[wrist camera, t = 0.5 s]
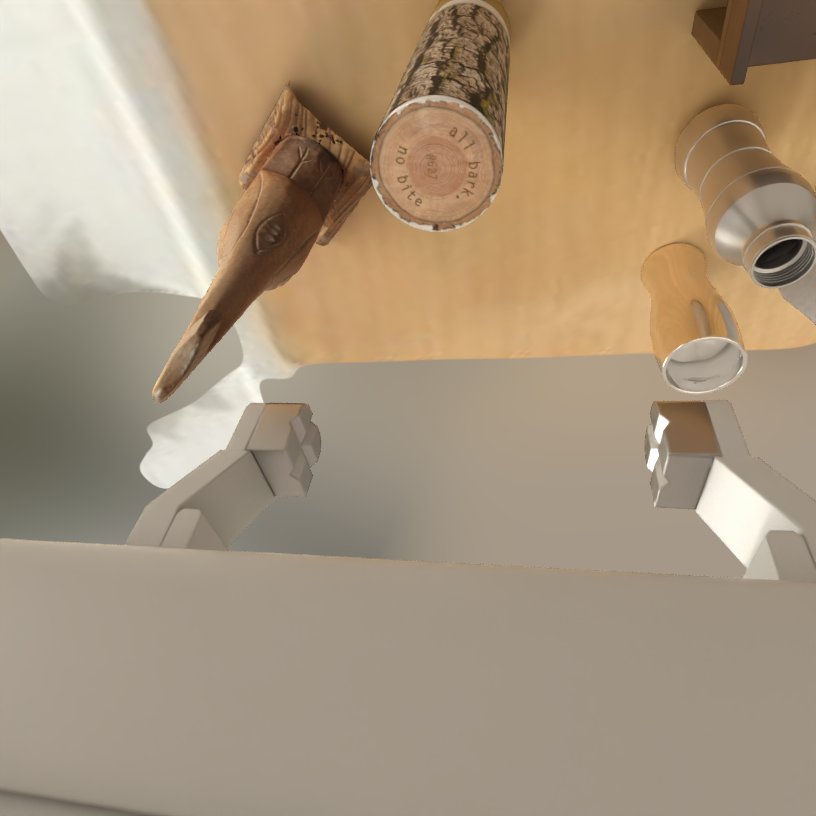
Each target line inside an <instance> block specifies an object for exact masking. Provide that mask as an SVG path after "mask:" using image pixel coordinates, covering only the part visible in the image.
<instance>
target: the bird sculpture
mask: <svg viewBox="0 0 816 816" xmlns="http://www.w3.org/2000/svg"><path fill="white" fill-rule="evenodd" d="M299 110H300V111H299ZM295 113H297V115H296V114H295ZM317 119H318V118H316V117H315V116H313V114H312V113H311V112H310V111H309V110H308V109H307V108H306V107H303V106H302V105H301V104H300V102H299V101H298V99H297V98H296V96H295V95H294V94H293V92H292V91H291V89H290V84H289V81H288V83H287V84H286V86H285V88H284V90H283V92H282V94H281V96H280V97H279V99H278V101H277V103H276V105H275V107H274V109H273V111H272V113H271V115H270V116H269V118H268V120H267V122H266V124H265V126H264V127H263V129H262V131H261V133H260V135H259V137H258V139H257V141H256V143H255V145H254V147H253V149H252V151H251V153H250V154H249V156H248V158H247V160H246V163H245V165H244V167H243V169H242V171H241V173H240V175H239V177H238V179H239V183H240V185H241V187H243V188H244V189H245V190H246V192H245V193H244V195H243V196H242V198H241V199H240V200H239V202H238V203H237V205H236V206H235V208H234V209H233V211H232V212H231V214H230V216H229V217H228V219H227V221H226V223H225V224H224V226H223V228H222V230H221V232H220V237H219V240H218V244H217V259H218V265H219V269H218V271H217V274H216V275H215V277H214V279H213V281H212V283H211V285H210V287H209V289H208V290H207V293H206V295H205V296H204V297H203V299H202V301H201V303H200V305H199V308H198V309H197V312H196V314H195V316H194V318H193V319H192V321H191V323H190V325H189V327H188V329H187V331H186V332H185V334H184V336H183V337H182V338H181V341H180V342H179V344H178V346H177V347H176V348H175V350H174V351H173V353H172V355H171V356H170V359H169V361H168V362H167V364H166V366H165V368H164V370H163V372H162V374H161V375H160V377H159V379H158V380H157V383H156V385H155V386H154V388H153V390H152V396H153V400H154V402H156V403H161V402H163V401H165V400H167V398H168V397H169V396H171V394H173V393H174V392H175V391H176V389H177V388H178V387H179V386H180V385H181V384H182V382H183V381H184V380H185V379H186V378H187V377H188V376H189V375H190V373H191V372H192V371H193V370H194V369H195V368H196V366H197V365H198V364H199V363H200V362H201V361H202V360H203V359H204V357H205V356H206V355H207V354H208V353H209V351H211V350H212V349H213V347H214V346H215V345H216V343H218V342H219V341H220V340H221V339H222V337H223V336H224V335H225V334H226V333H227V332H228V330H229V329H230V328H231V327H232V326H233V324H234V323H235V322H236V321H237V320H238V319H239V318H240V317H241V316H242V315H243V313H244V312H245V310H246V309H247V308H248V307H249V306H250V305H251V303H252V302H253V301H254V300H255V299H256V298H257V297H258V296H260V295H261V294H262V293H263V292H264V291H267V290H272V289H275V288H277V287H278V286H282V285H284V284H285V283H286V282H287V281H288V280H289V279H290V278H291V277H292V276H293V275H294V274H296V273H297V272H298V270H299V269H300V268H301V266H302V265H303V263H304V262H305V260H306V258H307V256H308V254H309V252H310V250H311V248H312V246H313V245H314V243H315V242H316V244H319V245H321V246H325V245H327V244H328V243H329V242H330V240H331V239H332V238H333V236H334V235H335V234H336V232H337V231H338V230H339V228H340V227H341V225H342V224H343V223H344V221H345V220H346V218H347V217H348V215H349V214H350V213H351V212H352V210H353V209H354V208H355V206H356V205H357V204H358V202H359V200H360V199H361V198H362V196H364V195H365V193H366V192H367V191H368V189H369V188H370V187H371V185H372V184H373V182H372V178H371V173H370V160H367V159H366V158H364V157H363V156H362V155H361V154H358V153H357V151H356V150H355V149H354V148H353V147H351V146H350V145H348V144H347V142H345V141H344V140H343V139H341V137H340V136H338V135H335V133H334V132H333V131H332V130H331V129H329V128H328V129H327V131H325V130H324V129H320V127H318V129H317V128H316V126H318V125H319V124H317V123H316V122H317V121H318V122H319V120H317ZM319 123H320V122H319ZM302 128H303V130H302ZM316 131H317V133H316ZM296 132H297V133H298V134H299V135H301V136H298V135H297V136H296V135H295V133H296ZM326 132H328V136H329V138H327V137H326V136H327V135H325V134H326ZM332 133H333V134H332ZM314 134H315V138H313V136H312V135H314ZM319 135H324V137H323V138H320V137H319ZM330 135H333V138H334V141H335V144H333V142H332V140H331V136H330ZM280 136H281V138H282V139H280V138H279V137H280ZM316 136H317V138H316ZM321 139H322V142H319V140H321ZM336 139H337V140H338V141H339V142H337V141H336ZM277 140H279V141H281V142H280V143H276V144H274V142H276V141H277ZM340 141H342V144H340ZM318 142H319V143H321V144H318ZM330 143H331V145H330ZM267 157H268V159H267ZM342 170H344V173H343V172H342ZM342 173H343V176H342ZM342 180H344V181H343V183H342ZM341 183H342V184H341ZM347 183H349V185H346V184H347ZM339 189H340V190H339ZM334 200H335V201H334Z"/></svg>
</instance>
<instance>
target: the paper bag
mask: <svg viewBox="0 0 816 816" xmlns="http://www.w3.org/2000/svg"><path fill="white" fill-rule="evenodd" d="M810 232H811V234H812V237H813V240H814V242H815V244H816V217H815V220H814V223H813V226H812V227H811V229H810ZM778 289H779V291H780V293H781V295H782V296H783V298H784V299H785V300H786V301H787V302H789V303H790V304H791V305H793V306H794V307H795V308H796V309H798V310H799V311H800V312H802V313H803V314H804V315H805V316H806V317H808V318H809V319H810V320H811V321H812V322H813V323H814V324H815V325H816V263H815V265H814V266H813V268H812V269H811V270H810V271H809V273H807V274H806V275H805V276H804V277H803V278H801V279H800V280H799V281H797V282H795V283H793V284H791V285H788V286H785V287H781V288H778Z"/></svg>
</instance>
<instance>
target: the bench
mask: <svg viewBox="0 0 816 816" xmlns="http://www.w3.org/2000/svg"><path fill="white" fill-rule="evenodd" d="M692 35H693V37H694V38H695V39H696V41H697V42H698V43H699V45H700V46H701V47H702V49H703V50H704V51H705V53H706V54H707V55H708V57H709V58H710V59H711V61H712V62H713V63H714V65H715V66H716V67H717V69H718V70H719V71H720V72H721V74H722V75H723V76H724V78H725V79H726V80H727V82H728V83H729V84H730V85H737V84H743V83H744V80H745V76H746V71H747V67H751V66H759V65H768V64H776V63H784V62H792V61H800V60H808V59H816V0H729V1H728V6H727V7H723V8H716V9H709V10H702V11H696V12H695V17H694V22H693V28H692Z"/></svg>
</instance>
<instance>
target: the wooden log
mask: <svg viewBox="0 0 816 816" xmlns="http://www.w3.org/2000/svg"><path fill="white" fill-rule="evenodd" d="M510 42H511V29H510V23H509V19H508V16H507V14H506V11H505V9H504V8H503V6H502V5H501V3H500V2H499V1H498V0H441V2H440V3H439V4H438V5H437V6H436V8H435V9H434V11H433V13H432V15H431V17H430V19H429V21H428V23H427V25H426V27H425V29H424V31H423V33H422V36H421V38H420V40H419V42H418V44H417V47H416V49H415V51H414V53H413V55H412V57H411V60H410V62H409V64H408V66H407V68H406V70H405V73H404V75H403V77H402V79H401V81H400V83H399V86H398V88H397V90H396V92H395V94H394V96H393V99H392V101H391V103H390V105H389V107H388V109H387V112H386V114H385V116H384V118H383V120H382V123H381V125H380V127H379V129H378V131H377V133H376V136H375V139H374V142H373V145H372V149H371V155H370V173H371V178H372V182H373V185H374V188H375V190H376V193H377V195H378V197H379V198H380V200H381V201H382V203H383V204H384V206H385V207H386V208H387V209H388V210H389V211H390V212H391V213H392V214H393V215H394V216H395V217H397V218H398V219H399V220H401V221H402V222H404V223H406V224H408V225H410V226H412V227H415V228H418V229H421V230H425V231H433V232H442V231H450V230H454V229H458V228H461V227H463V226H465V225H468V224H469V223H471V222H473V221H474V220H476V219H477V218H478V217H480V216H481V215H482V214H483V213H484V212H485V211H486V210H487V208H488V207H489V206H490V204H491V203H492V201H493V200H494V198H495V196H496V194H497V192H498V189H499V186H500V182H501V177H502V172H503V159H504V143H505V127H506V111H507V95H508V79H509V63H510Z"/></svg>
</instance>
